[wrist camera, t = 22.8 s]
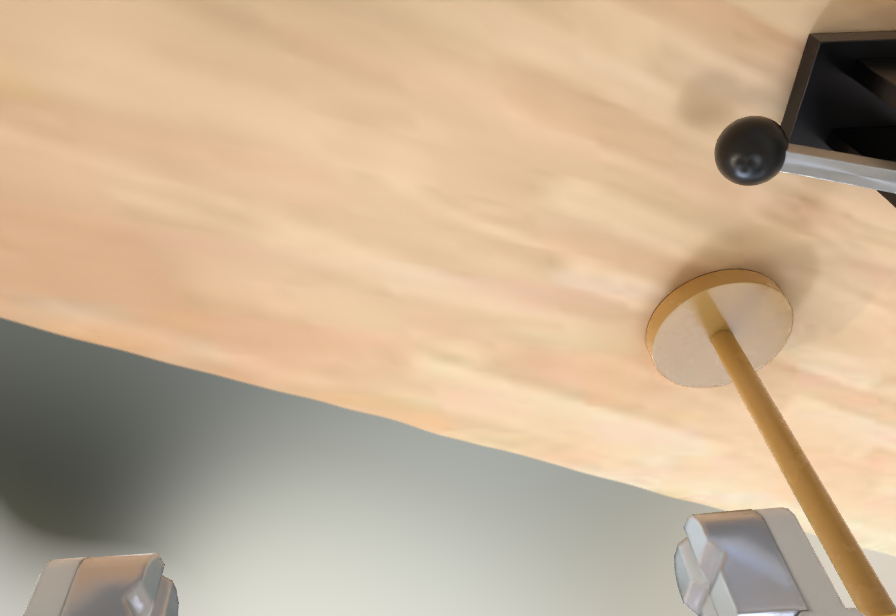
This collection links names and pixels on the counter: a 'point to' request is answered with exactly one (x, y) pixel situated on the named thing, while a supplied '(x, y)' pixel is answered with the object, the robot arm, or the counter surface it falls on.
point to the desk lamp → (756, 395)
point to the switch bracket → (846, 96)
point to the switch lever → (792, 158)
